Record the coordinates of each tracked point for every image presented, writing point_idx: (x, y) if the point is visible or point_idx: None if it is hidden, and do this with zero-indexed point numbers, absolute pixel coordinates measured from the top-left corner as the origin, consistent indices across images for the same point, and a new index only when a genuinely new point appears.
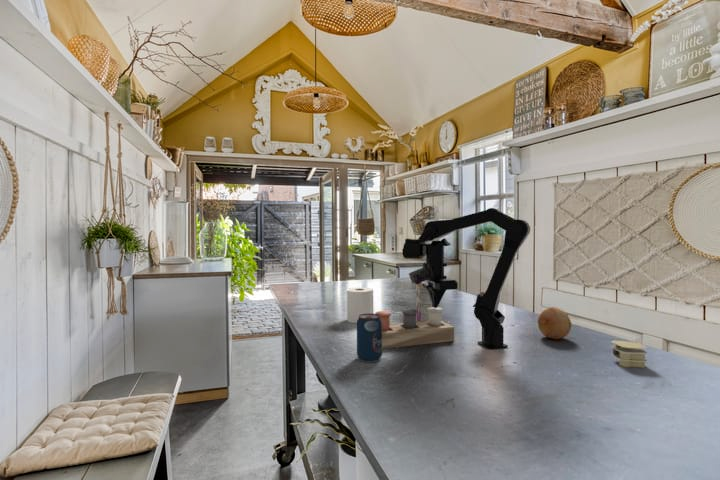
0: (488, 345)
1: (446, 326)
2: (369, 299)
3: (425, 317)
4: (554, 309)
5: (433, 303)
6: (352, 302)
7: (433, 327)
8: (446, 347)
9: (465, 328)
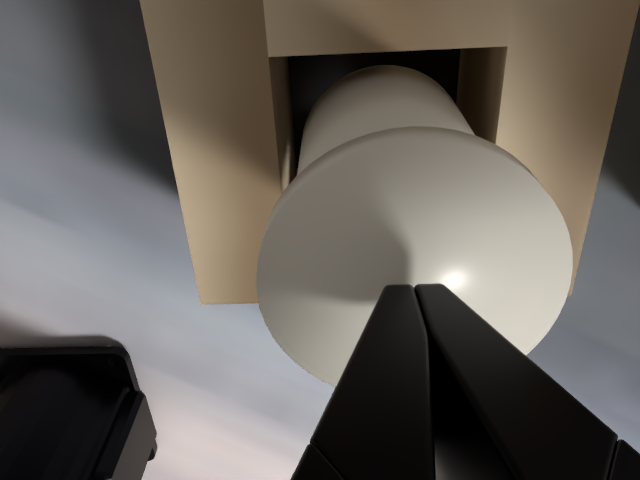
0: (10, 372)
1: (228, 239)
2: None
3: None
4: None
5: (403, 332)
6: None
7: (213, 59)
8: (36, 68)
9: None
